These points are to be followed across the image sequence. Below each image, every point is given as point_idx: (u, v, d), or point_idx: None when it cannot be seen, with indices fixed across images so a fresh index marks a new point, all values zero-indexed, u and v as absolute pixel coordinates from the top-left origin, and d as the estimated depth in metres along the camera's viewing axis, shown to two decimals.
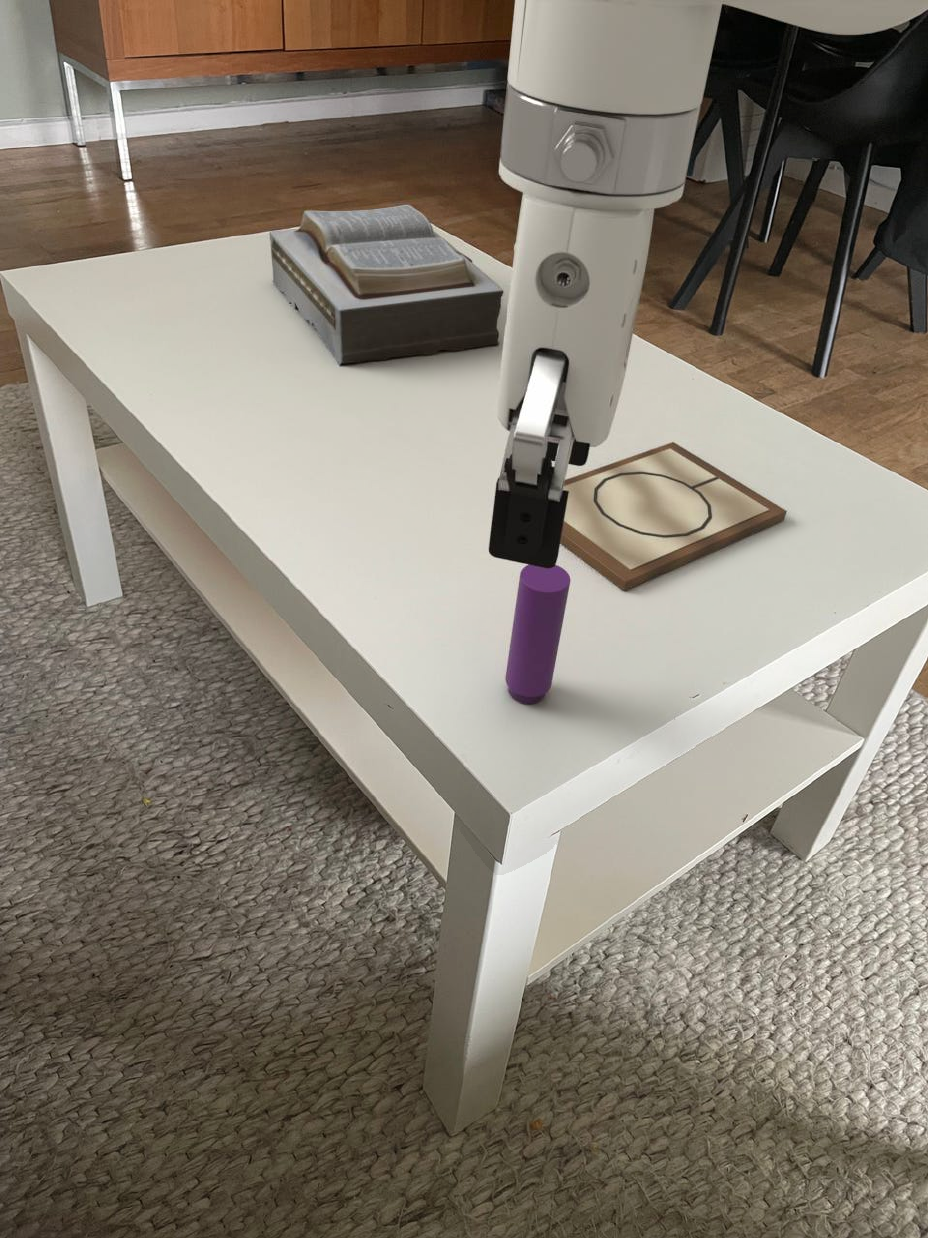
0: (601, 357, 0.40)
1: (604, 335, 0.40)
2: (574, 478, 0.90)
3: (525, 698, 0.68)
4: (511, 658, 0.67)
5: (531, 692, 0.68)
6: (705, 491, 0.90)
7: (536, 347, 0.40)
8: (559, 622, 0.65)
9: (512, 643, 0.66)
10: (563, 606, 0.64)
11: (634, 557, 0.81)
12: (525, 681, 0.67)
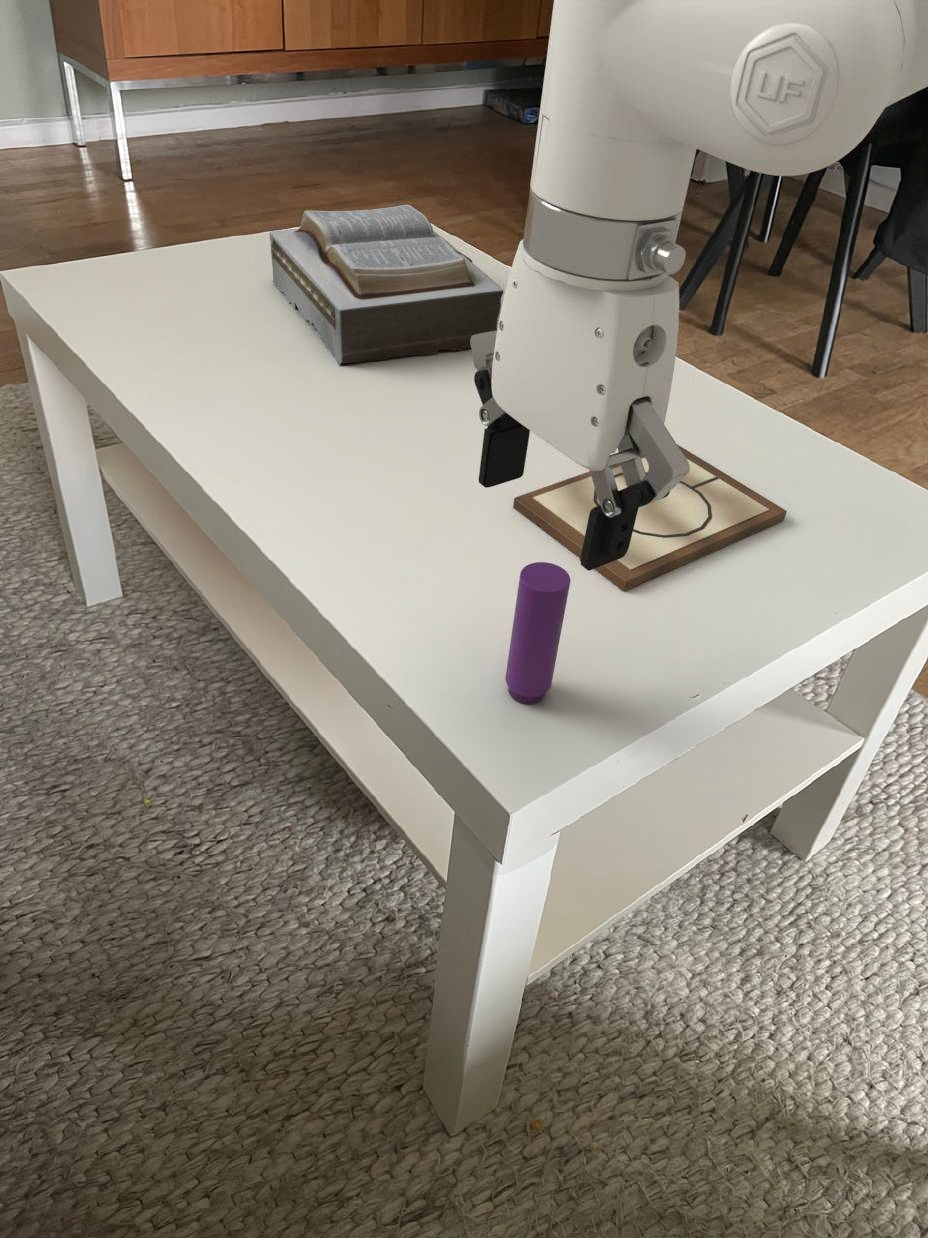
0: (667, 389, 0.52)
1: (670, 372, 0.52)
2: (574, 478, 0.90)
3: (525, 698, 0.68)
4: (511, 658, 0.67)
5: (531, 692, 0.68)
6: (705, 491, 0.90)
7: (632, 400, 0.51)
8: (559, 622, 0.65)
9: (512, 643, 0.66)
10: (563, 606, 0.64)
11: (634, 557, 0.81)
12: (525, 681, 0.67)
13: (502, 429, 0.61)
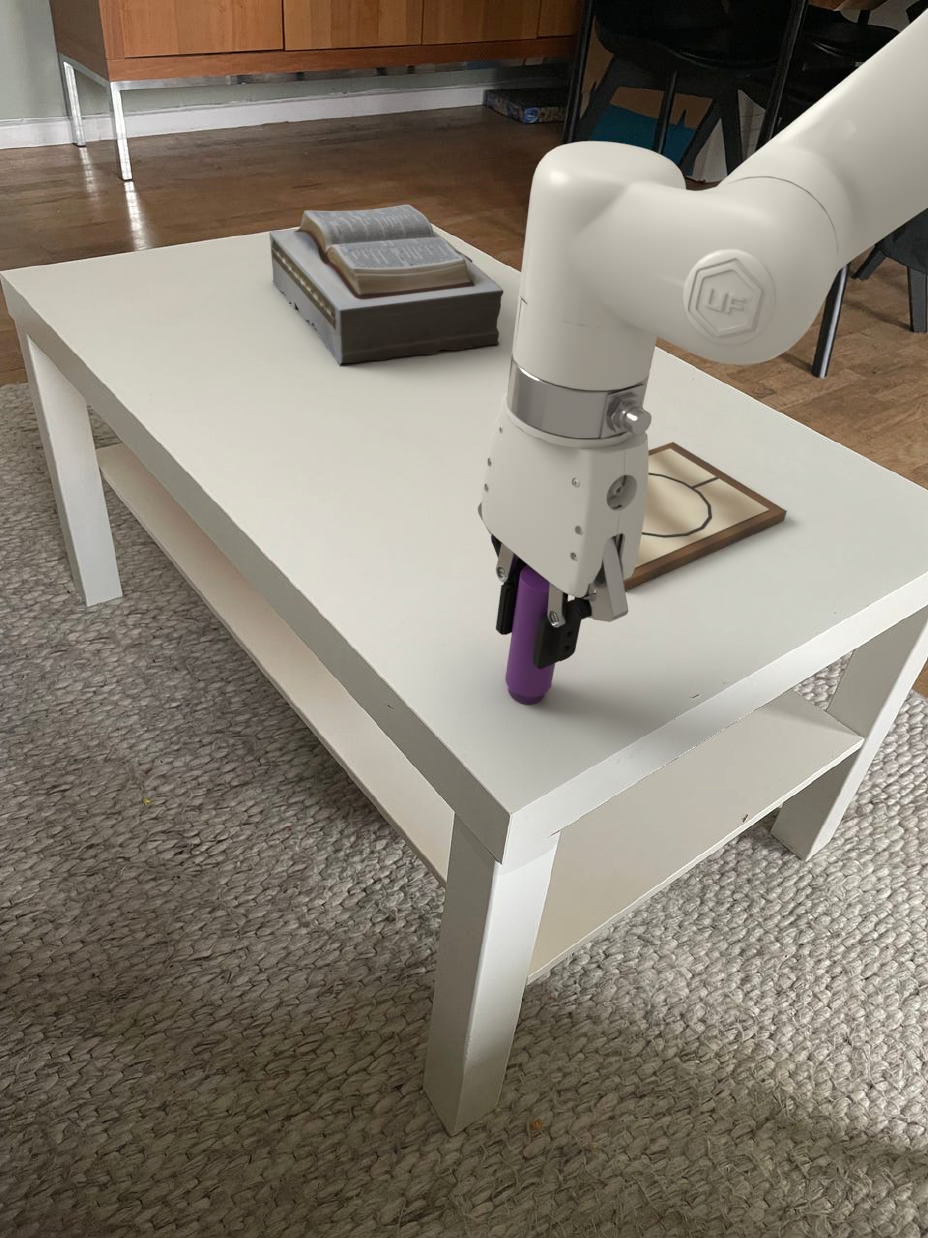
0: (640, 524, 0.58)
1: (642, 511, 0.57)
2: None
3: (525, 698, 0.68)
4: (511, 658, 0.67)
5: (531, 692, 0.68)
6: (705, 491, 0.90)
7: (607, 538, 0.56)
8: None
9: (512, 643, 0.66)
10: None
11: None
12: (525, 681, 0.67)
13: (517, 585, 0.65)
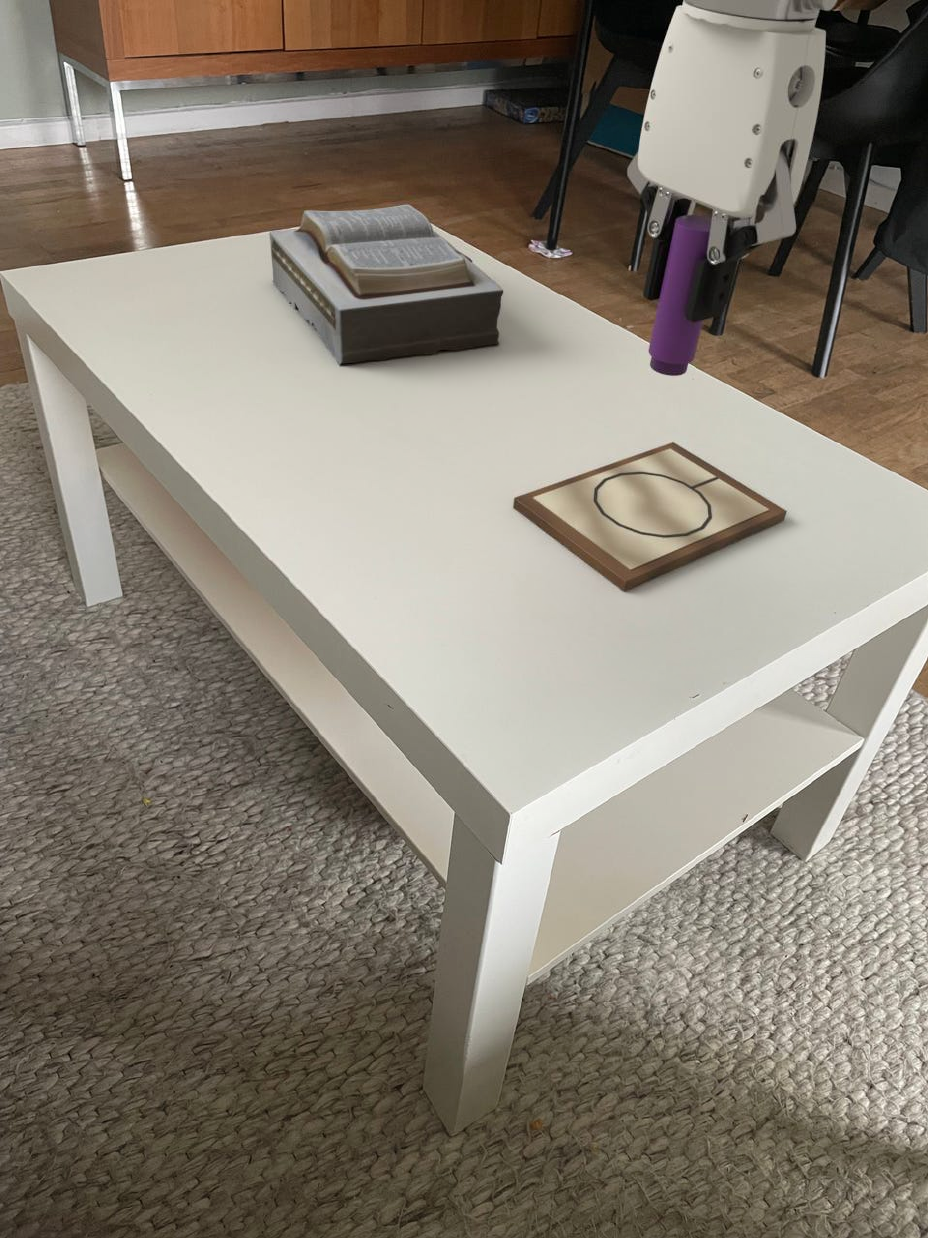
0: (810, 136, 0.59)
1: (814, 119, 0.58)
2: (574, 478, 0.90)
3: (669, 367, 0.69)
4: (659, 321, 0.68)
5: (678, 358, 0.69)
6: (705, 491, 0.90)
7: (783, 141, 0.57)
8: None
9: (661, 304, 0.67)
10: None
11: (634, 557, 0.81)
12: (673, 345, 0.68)
13: (669, 240, 0.66)
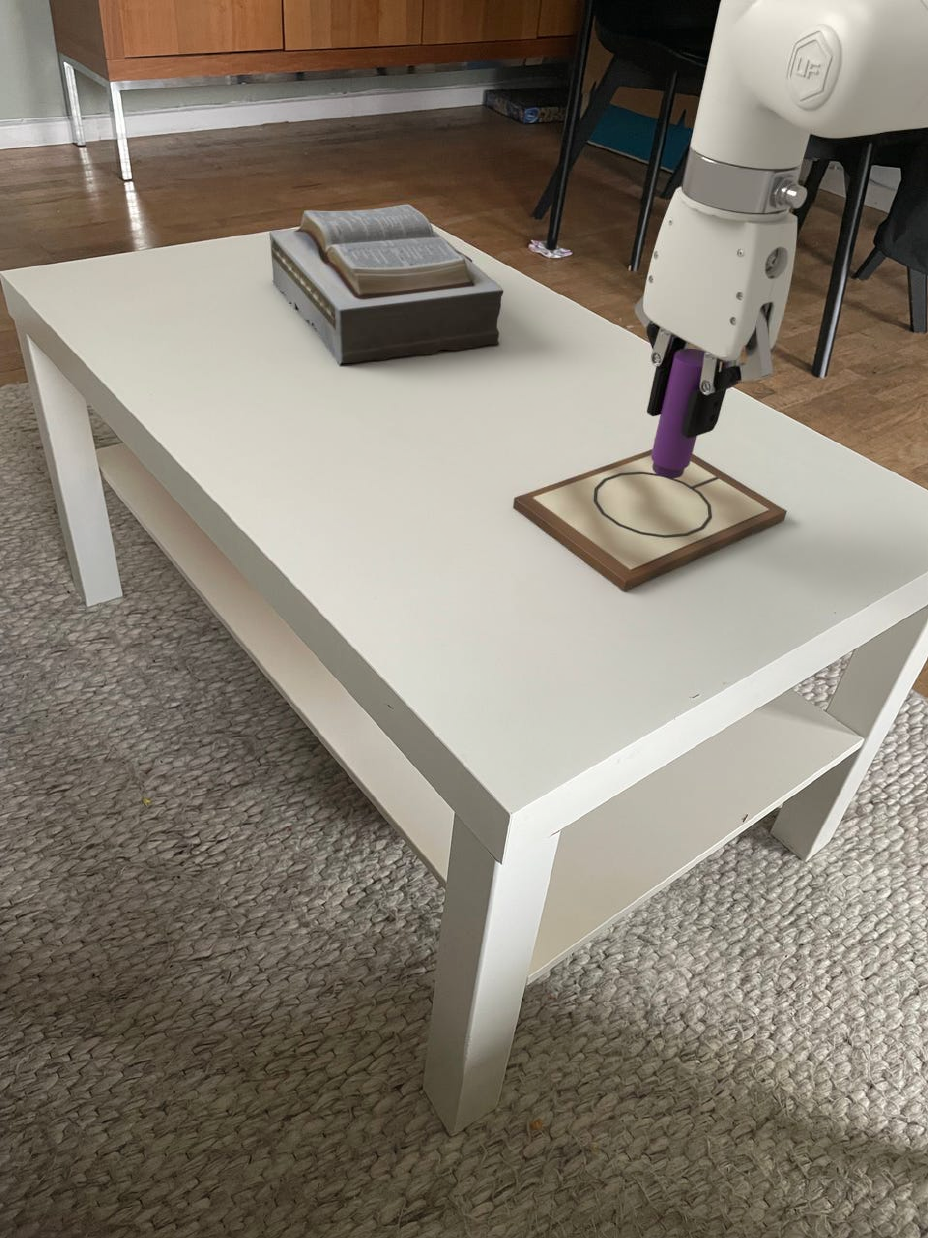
0: (785, 297, 0.71)
1: (788, 285, 0.70)
2: (574, 478, 0.90)
3: (668, 471, 0.82)
4: (660, 434, 0.80)
5: (675, 465, 0.81)
6: (705, 491, 0.90)
7: (761, 304, 0.70)
8: None
9: (662, 420, 0.80)
10: None
11: (634, 557, 0.81)
12: (671, 454, 0.80)
13: (669, 369, 0.79)
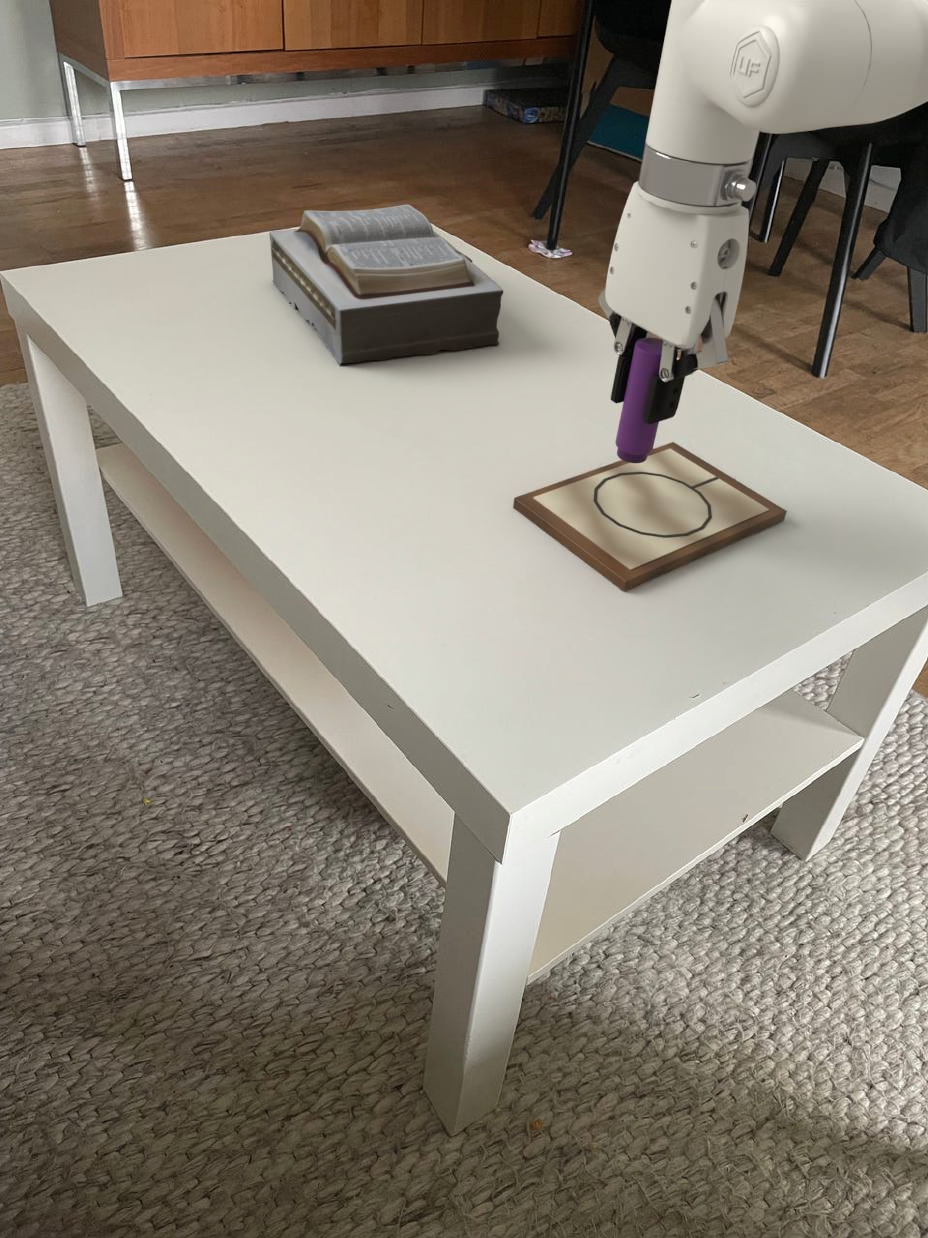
0: (738, 287, 0.74)
1: (741, 275, 0.73)
2: (574, 478, 0.90)
3: (632, 457, 0.85)
4: (623, 421, 0.83)
5: (638, 450, 0.84)
6: (705, 491, 0.90)
7: (715, 294, 0.72)
8: None
9: (624, 407, 0.83)
10: None
11: (634, 557, 0.81)
12: (634, 440, 0.83)
13: (631, 357, 0.81)
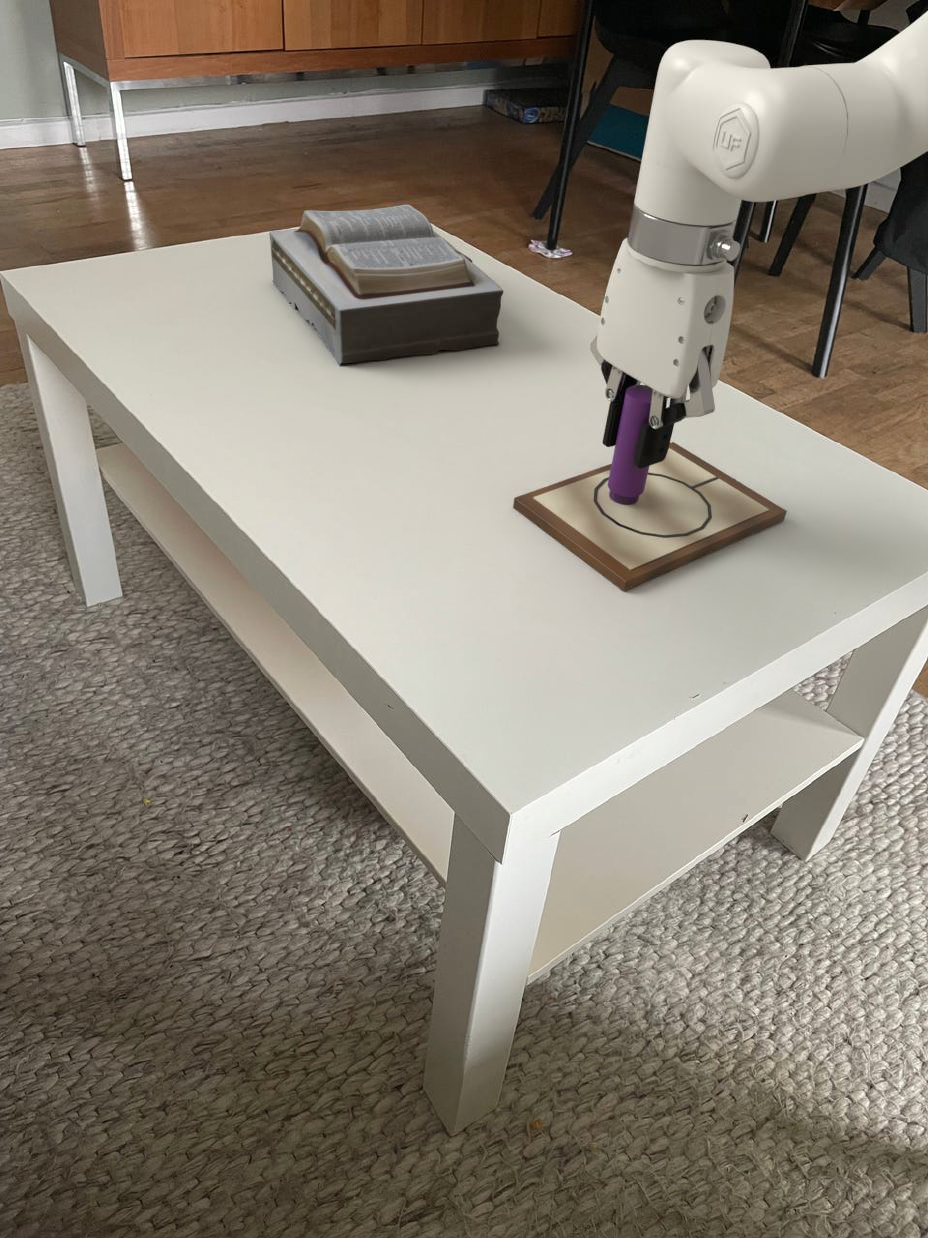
0: (725, 340, 0.76)
1: (727, 328, 0.76)
2: (574, 478, 0.90)
3: (623, 498, 0.87)
4: (614, 464, 0.86)
5: (630, 493, 0.86)
6: (705, 491, 0.90)
7: (702, 347, 0.75)
8: None
9: (616, 451, 0.85)
10: None
11: (634, 557, 0.81)
12: (625, 483, 0.86)
13: (622, 403, 0.84)
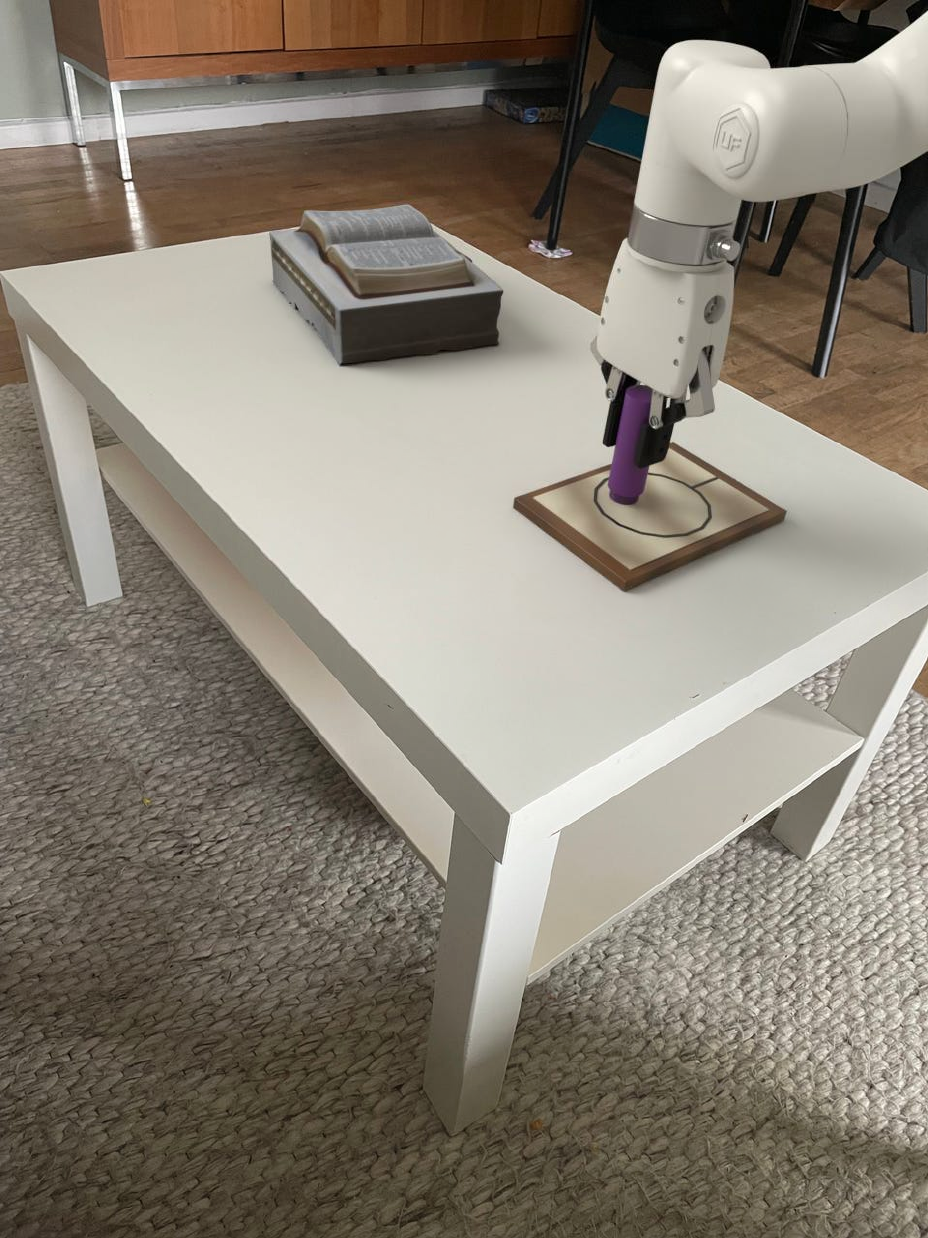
0: (725, 340, 0.76)
1: (727, 328, 0.76)
2: (574, 478, 0.90)
3: (623, 498, 0.87)
4: (614, 464, 0.86)
5: (630, 493, 0.86)
6: (705, 491, 0.90)
7: (702, 347, 0.75)
8: None
9: (616, 451, 0.85)
10: None
11: (634, 557, 0.81)
12: (625, 483, 0.86)
13: (622, 403, 0.84)
